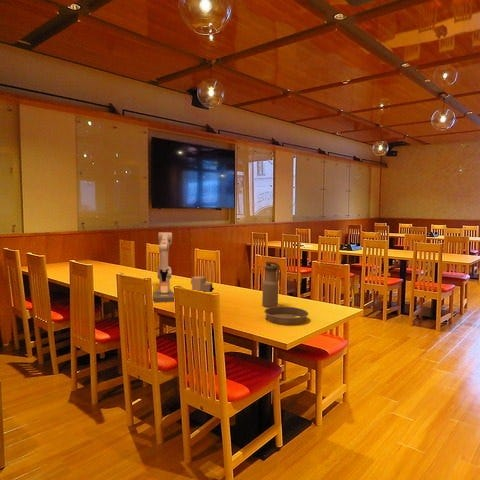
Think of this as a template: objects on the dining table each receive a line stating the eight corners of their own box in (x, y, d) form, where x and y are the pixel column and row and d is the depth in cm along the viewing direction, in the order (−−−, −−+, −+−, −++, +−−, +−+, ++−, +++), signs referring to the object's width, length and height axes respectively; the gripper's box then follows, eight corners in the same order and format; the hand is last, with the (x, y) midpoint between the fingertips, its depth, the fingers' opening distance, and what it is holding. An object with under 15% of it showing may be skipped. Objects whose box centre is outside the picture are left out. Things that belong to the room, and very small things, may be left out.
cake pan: (292, 329, 206) (292, 320, 205) (255, 319, 222) (255, 311, 221) (316, 319, 224) (316, 311, 224) (280, 311, 240) (280, 304, 240)
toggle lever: (160, 294, 267) (160, 283, 270) (167, 293, 268) (167, 283, 271) (160, 293, 265) (160, 282, 268) (167, 292, 266) (167, 282, 269)
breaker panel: (150, 296, 272) (150, 288, 271) (177, 295, 276) (177, 287, 275) (150, 302, 254) (150, 294, 254) (178, 301, 258) (178, 293, 258)
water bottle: (279, 304, 255) (280, 261, 253) (276, 308, 246) (278, 263, 244) (264, 303, 258) (265, 260, 256) (260, 307, 249) (261, 262, 246)
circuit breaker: (211, 301, 260) (212, 279, 258) (190, 300, 262) (190, 277, 261) (214, 299, 267) (215, 277, 266) (194, 298, 270) (194, 276, 268)
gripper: (157, 260, 279) (157, 279, 279) (158, 262, 264) (157, 282, 265) (167, 260, 280) (167, 279, 281) (168, 262, 266) (168, 282, 267)
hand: (163, 280), depth 273 cm, fingers open, 5 cm apart
